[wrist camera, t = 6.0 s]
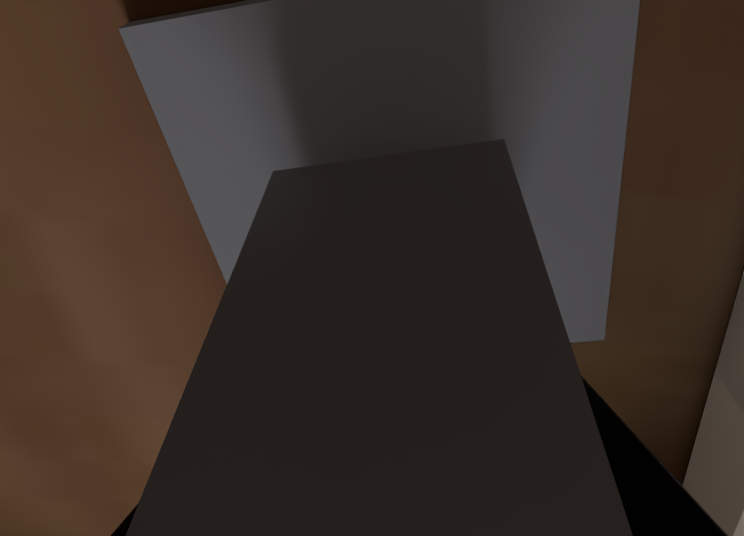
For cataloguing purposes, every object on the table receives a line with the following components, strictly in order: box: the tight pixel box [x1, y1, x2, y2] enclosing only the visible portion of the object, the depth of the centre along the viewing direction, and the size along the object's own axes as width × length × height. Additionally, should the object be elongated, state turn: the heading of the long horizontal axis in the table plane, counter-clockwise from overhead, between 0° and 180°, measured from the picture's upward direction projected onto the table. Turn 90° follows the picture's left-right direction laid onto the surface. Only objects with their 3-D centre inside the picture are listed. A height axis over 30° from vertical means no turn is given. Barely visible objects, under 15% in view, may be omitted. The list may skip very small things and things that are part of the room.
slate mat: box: [119, 0, 640, 343], centre depth 14 cm, size 10×10×1 cm
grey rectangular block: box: [126, 139, 633, 536], centre depth 9 cm, size 4×4×9 cm
